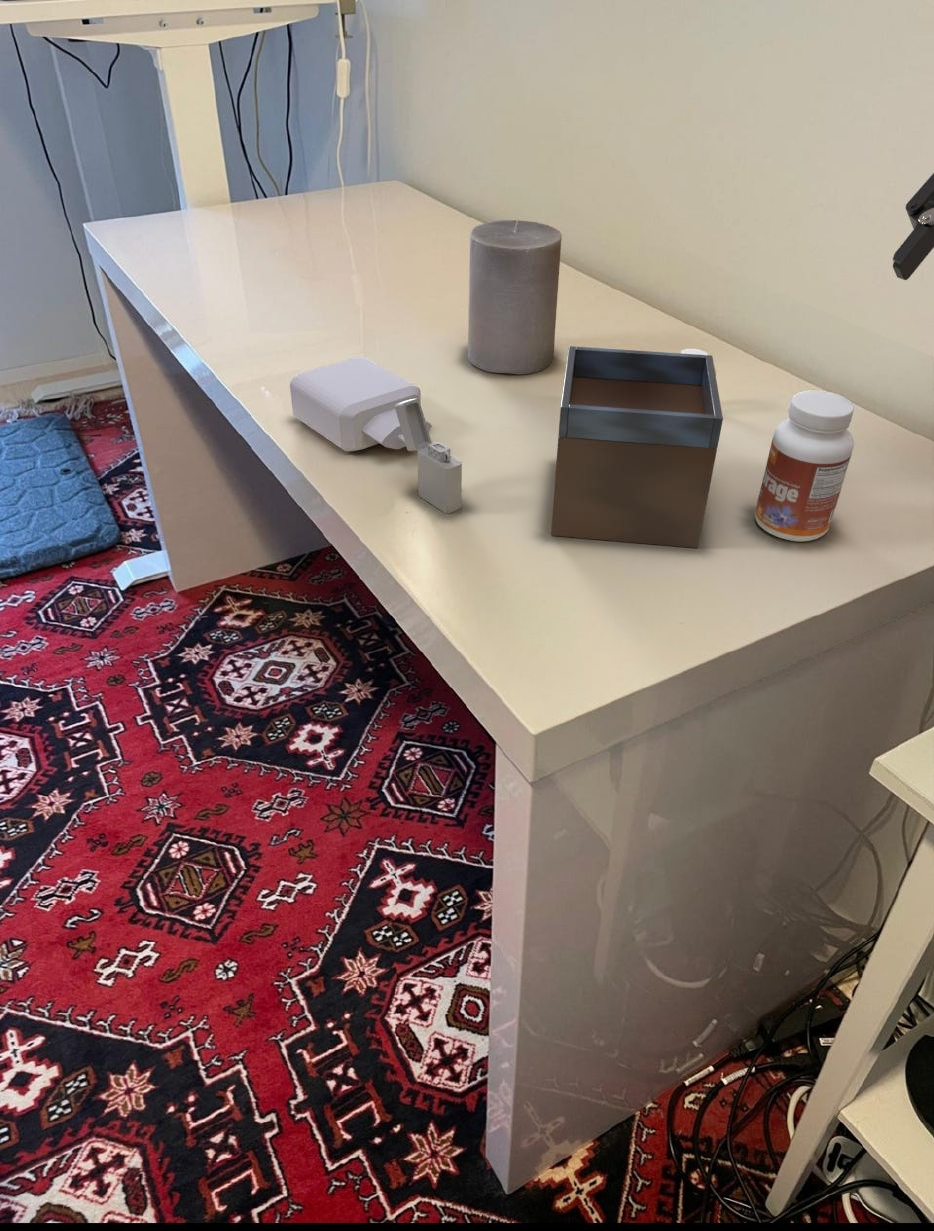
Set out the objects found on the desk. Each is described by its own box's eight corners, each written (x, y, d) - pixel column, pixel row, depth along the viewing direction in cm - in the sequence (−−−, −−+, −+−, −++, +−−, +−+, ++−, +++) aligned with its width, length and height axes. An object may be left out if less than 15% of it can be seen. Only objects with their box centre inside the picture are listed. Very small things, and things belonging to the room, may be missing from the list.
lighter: (462, 507, 82) (463, 422, 77) (447, 514, 81) (447, 428, 76) (412, 475, 86) (410, 393, 81) (396, 481, 85) (393, 398, 80)
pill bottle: (739, 511, 82) (765, 390, 75) (800, 500, 84) (831, 381, 77) (780, 549, 77) (812, 424, 71) (844, 537, 79) (881, 413, 72)
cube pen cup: (691, 476, 87) (712, 355, 80) (698, 548, 77) (723, 418, 70) (559, 465, 88) (569, 345, 81) (550, 535, 79) (560, 406, 72)
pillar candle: (516, 335, 113) (523, 202, 104) (571, 363, 107) (582, 223, 98) (449, 354, 108) (450, 216, 99) (502, 383, 102) (508, 239, 93)
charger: (380, 481, 85) (293, 421, 94) (460, 451, 90) (370, 397, 99) (378, 433, 82) (288, 376, 92) (461, 405, 87) (368, 353, 96)
